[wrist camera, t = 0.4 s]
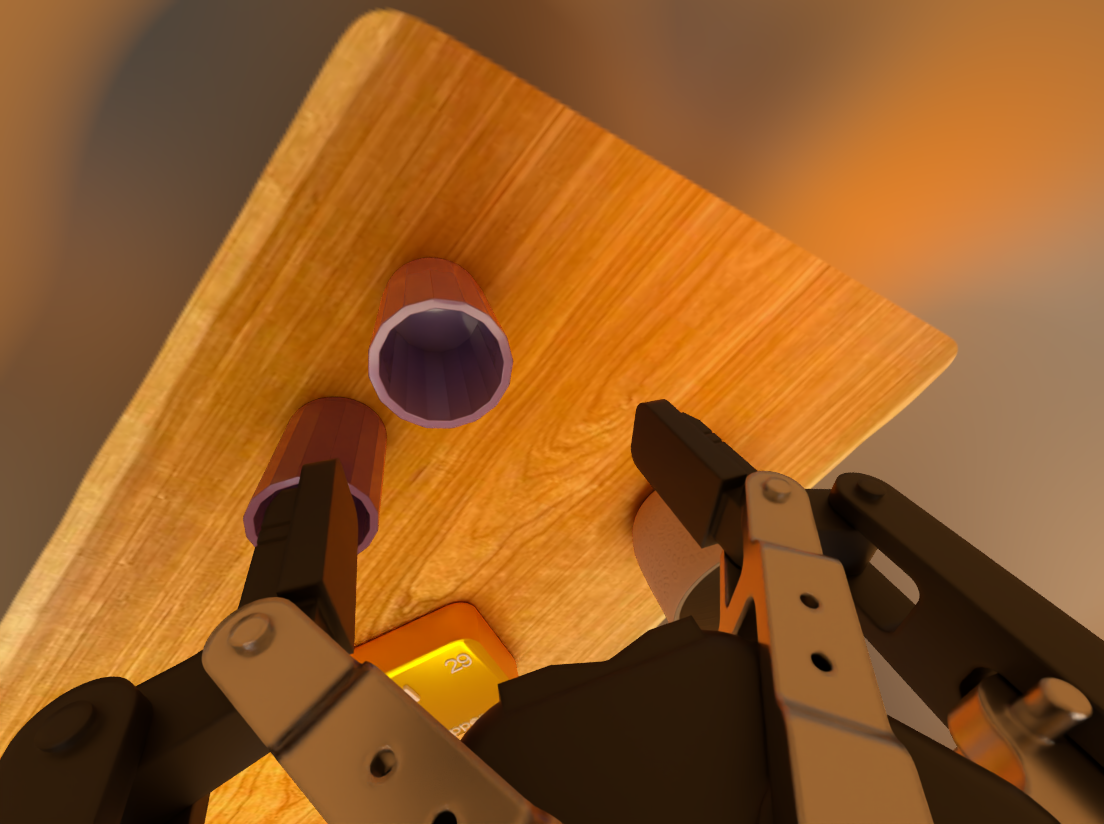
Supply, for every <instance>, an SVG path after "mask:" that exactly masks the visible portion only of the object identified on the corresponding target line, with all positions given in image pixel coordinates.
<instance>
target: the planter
mask: <svg viewBox="0 0 1104 824" xmlns="http://www.w3.org/2000/svg"><path fill="white" fill-rule="evenodd" d="M632 540H633V547H634V552H635V556H636V558H637V561H638V564H639V566H640V568H641V571H642V573H643V575H644V577H645V579H646V581H647V582H648V584H649V586H650V588H651V590H652V592H653V594H654V596H655V597H656V599H657V601H658V603H659V605H660V607H661V608H662V610H663V612H664V614H665V616H666V618H667V620H668V622H669V623H671V622H674V621H676V620H679V619H682V618H685V617H688V616H690V615H692V617H693V618H694V620H695V621H696V623H697V624H698V626H699V627H700V629H701V630H715V631H718V630H719V624H720V555H721V552H722V548H721V546H720V545H719V544H715V545H712V546H709V547H705V548H702V549H701V547H700V546H699V545H698V544H697V542H696V541H695V540H694V539H693V537H692V536H691V535H690V533H689V532H688V531H687V530H686V528H685V527H684V526H683V525H682V523H681V522H680V521H679V520H678V518H677V517H676V516H675V515H674V513H673V512H672V511H671V509H670V508H669V507H668V506H667V504H666V503H665V502H664V501H663V499H662V498H661V497H660V496H659V494H658V493H657V492H656V491H654V492H653V493H652V494H651V495H650V496H649V497H648V498H647V499H646V500H645V501H644V503H643V504H642V506H641V507H640V509H639V511H638V513H637V515H636V518H635V521H634V525H633V532H632Z"/></svg>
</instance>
